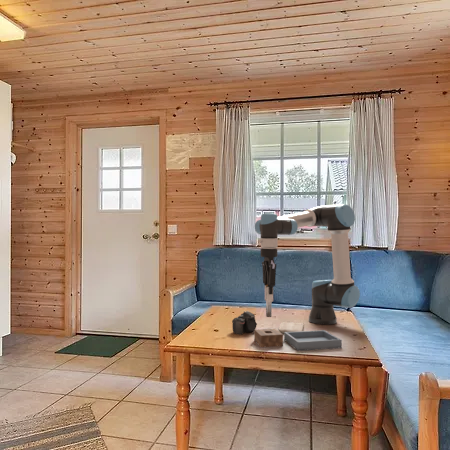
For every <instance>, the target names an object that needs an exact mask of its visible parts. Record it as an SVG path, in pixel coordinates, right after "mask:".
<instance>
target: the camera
mask: <svg viewBox="0 0 450 450" xmlns="http://www.w3.org/2000/svg"><path fill="white" fill-rule="evenodd" d="M231 322H232V323H231V324H232V332H233V334H235V335H239V336H241V335H243V334H246V333H251V332H254V330H257V325H258V323H257V321H256V316H255V314H254V313H252V312H250V311H249V310H246V311H243V312H242V313H241V314H240V315H238V316H237V317H234V318H233V319H232V321H231Z"/></svg>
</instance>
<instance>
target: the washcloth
mask: <svg viewBox="0 0 450 450" xmlns="http://www.w3.org/2000/svg"><path fill="white" fill-rule="evenodd" d="M304 328H305V324H304V323H303V322H293V321H282V322H280V324H279V328H278V331H279V332H280V333H282V334H283V335H284V332H298V331H304Z"/></svg>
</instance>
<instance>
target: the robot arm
mask: <svg viewBox="0 0 450 450" xmlns="http://www.w3.org/2000/svg"><path fill="white" fill-rule="evenodd" d="M355 221H356V216H355V212H354V210H353V208H352V207H351V206H350V205H348V204H343V203H342V204H341V203H338V204H328V205H320V206H319V205H318V206H316V207H313V208H309V209H305V210H304V211H303V212H297V213H292V214H287V215H282V216H281V215H280V216H278V214H277V213H262V214H261V215H260V219H258V220H256V222H255V223H254V230H255V232H256V234H258V235H260V240H259V243H260V247H261V248H260V258H264V259H263V261H261V266H262V283H263V285H264V301H266V287H267V302H274V287H275V286H276V278H277V277H276V275H277V274H276V273H277V272H276V271H277V266H278V265H277V263H276V262H275V259H274V258H278V241H279V240H278V235H280V236H281V235H282V236H291V235H294V234H296V233H297V232H298V230H299V228H303V227H308V228H311V227H324V228H325V227H326V228H327V232H329V233H330V238H331V239H330V240H331V242H330V243H331V253H332V267H333V268H332V270H333V279H322V280H319V279H318V280H313V281H312V283H311V309H310V312H309V315H308V322H309V323H312V324H317V325H335V324H337V323H338V321H337V320H338V318H337V315H336V313H335V309H334V306H339V307H343V308H347V309H348V308H354V307H355V306H356V305H357V303H358V302H359V300H360V298H361V296H360V295H361V292H360V291H361V290H360V289H359V287H358V286H357V285H355V281H354V279H353V278H352V277H351V276H352V275H351V261H350V247H349V246H350V244H349V232H350V231H351V230H352V228H351V227H352V226H353V225H354V224H355ZM266 285H268V286H266Z"/></svg>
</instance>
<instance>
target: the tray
mask: <svg viewBox="0 0 450 450" xmlns="http://www.w3.org/2000/svg"><path fill="white" fill-rule="evenodd" d="M283 341H285V343H286V342H287V343H288V344H289V345H290V346H291V347H293V348H294V349H295V350H296V351H298V352H299V351H316V350H315V349H318V350H332V349H333V348H335V349H342V348H343V347H342V345H343V340H342V339H341V338H339V337H337V336H336V335H333V334H332V333H330V332H329V331H327V330H325V329H324V330H323V329H322V330H303V331H298V332H284V334H283ZM333 350H334V349H333Z"/></svg>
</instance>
